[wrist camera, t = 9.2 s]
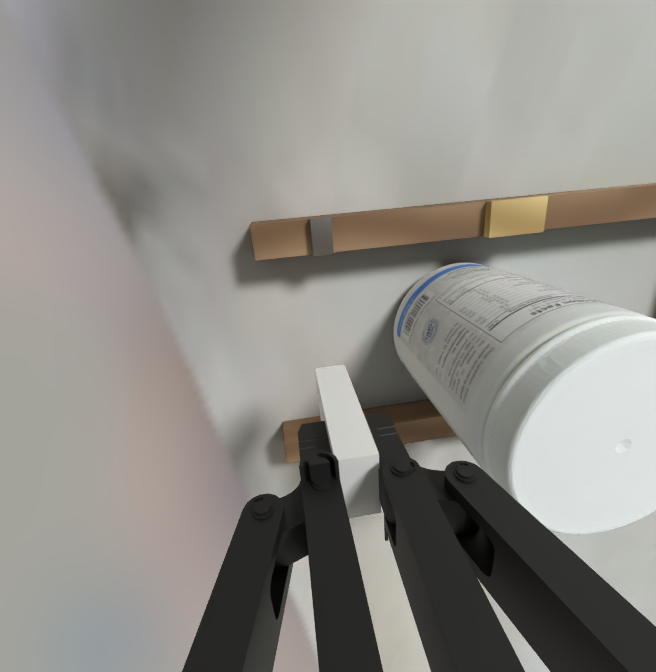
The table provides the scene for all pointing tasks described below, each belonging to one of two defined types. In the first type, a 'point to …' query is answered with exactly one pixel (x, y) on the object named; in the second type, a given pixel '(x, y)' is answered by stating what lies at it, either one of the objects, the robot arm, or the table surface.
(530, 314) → the supplement tub
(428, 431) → the beam track
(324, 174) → the table surface
